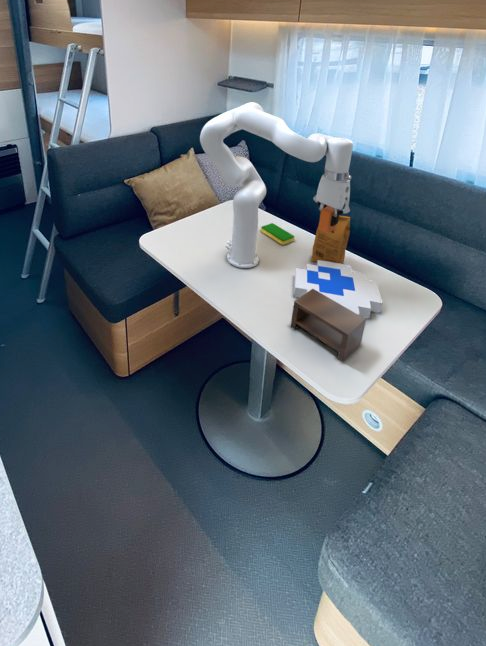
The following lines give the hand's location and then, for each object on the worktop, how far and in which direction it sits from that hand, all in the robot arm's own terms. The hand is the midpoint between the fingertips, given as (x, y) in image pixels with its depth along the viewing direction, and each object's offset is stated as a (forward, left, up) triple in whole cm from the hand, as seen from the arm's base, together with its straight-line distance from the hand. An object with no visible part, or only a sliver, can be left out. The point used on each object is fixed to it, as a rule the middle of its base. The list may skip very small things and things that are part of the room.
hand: (328, 222), depth 143 cm
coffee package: (-5, +14, -25) cm, 29 cm away
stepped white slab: (+8, -2, -25) cm, 26 cm away
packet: (0, 0, -3) cm, 3 cm away
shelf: (+17, -23, -25) cm, 38 cm away
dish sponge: (-30, +14, -25) cm, 42 cm away
